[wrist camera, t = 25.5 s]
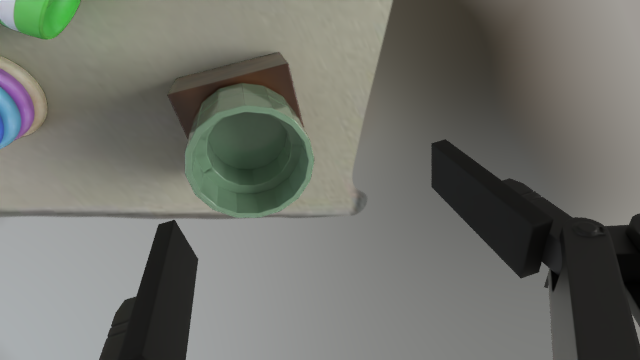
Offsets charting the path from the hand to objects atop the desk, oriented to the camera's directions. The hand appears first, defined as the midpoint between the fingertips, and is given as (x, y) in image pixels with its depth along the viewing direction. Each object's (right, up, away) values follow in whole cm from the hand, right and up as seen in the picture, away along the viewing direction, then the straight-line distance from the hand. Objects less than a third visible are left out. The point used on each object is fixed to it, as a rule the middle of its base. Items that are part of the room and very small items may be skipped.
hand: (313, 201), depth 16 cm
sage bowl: (-7, +6, +15) cm, 18 cm away
